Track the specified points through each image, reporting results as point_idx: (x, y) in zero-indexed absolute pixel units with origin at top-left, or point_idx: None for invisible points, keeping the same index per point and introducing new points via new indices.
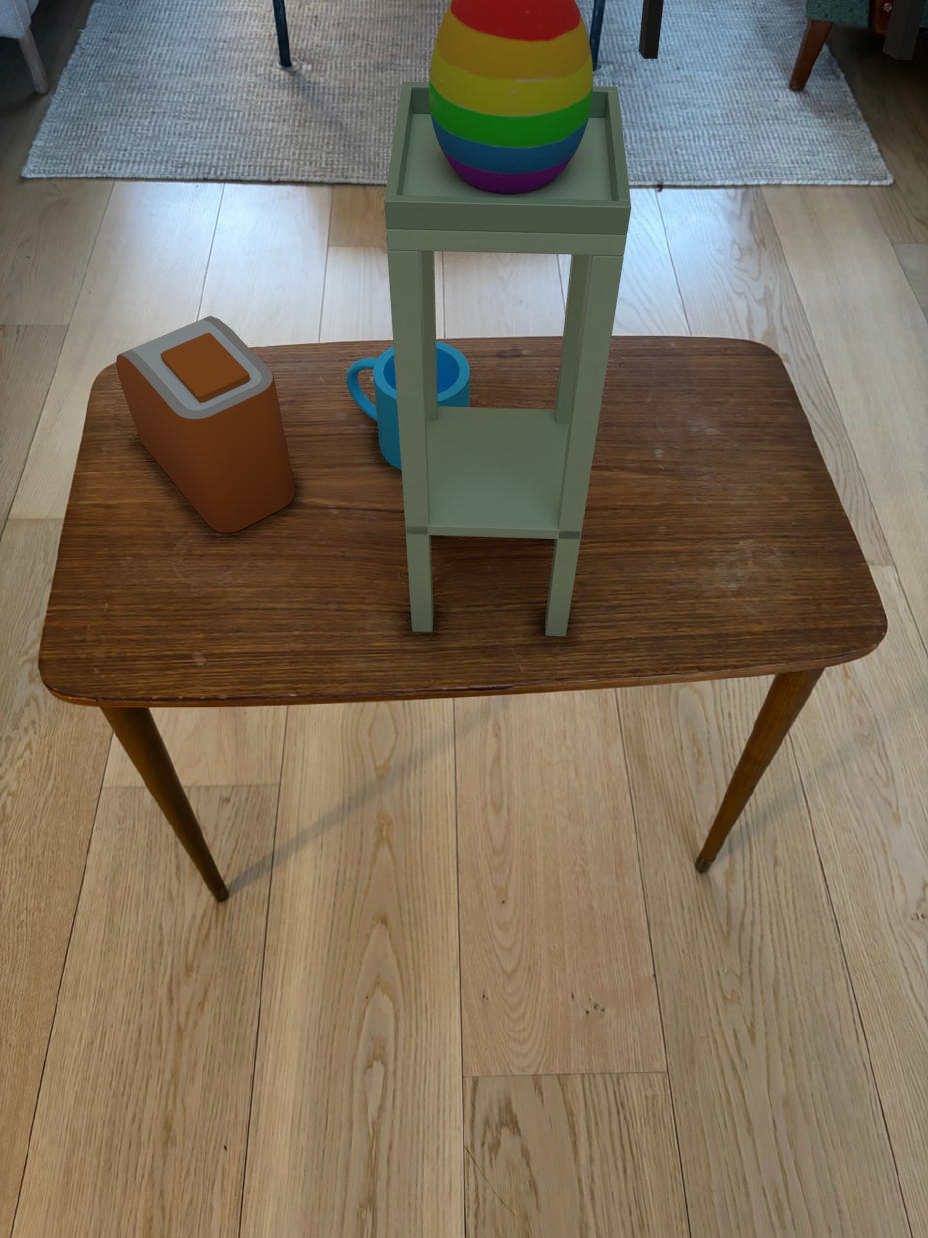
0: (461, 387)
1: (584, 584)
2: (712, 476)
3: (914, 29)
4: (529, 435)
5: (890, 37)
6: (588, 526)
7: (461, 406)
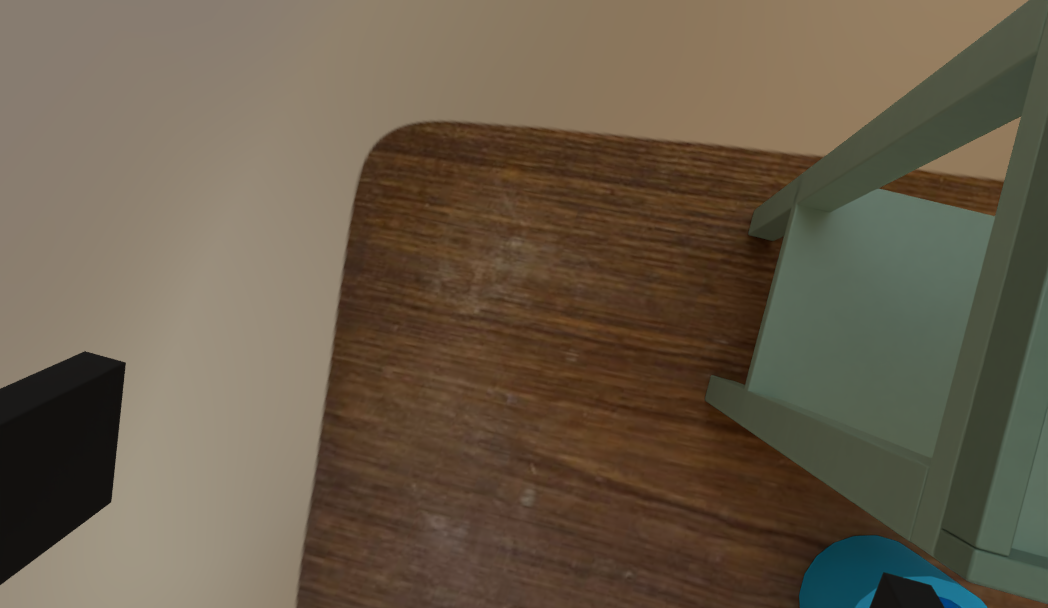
0: (864, 600)
1: (705, 287)
2: (469, 435)
3: (39, 382)
4: (832, 382)
5: (86, 482)
6: (670, 384)
7: (852, 585)
